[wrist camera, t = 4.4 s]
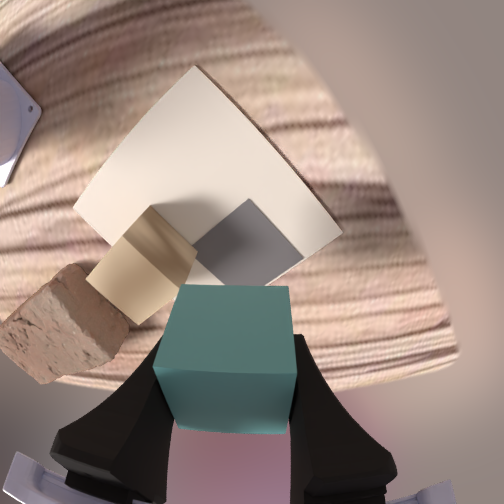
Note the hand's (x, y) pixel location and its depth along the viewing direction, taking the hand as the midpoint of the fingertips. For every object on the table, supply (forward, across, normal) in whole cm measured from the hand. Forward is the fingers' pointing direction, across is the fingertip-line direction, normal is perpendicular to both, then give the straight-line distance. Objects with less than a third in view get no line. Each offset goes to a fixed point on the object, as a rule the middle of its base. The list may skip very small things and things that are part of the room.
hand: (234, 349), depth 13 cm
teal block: (+1, 0, 0) cm, 1 cm away
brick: (+10, +19, +9) cm, 23 cm away
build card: (+9, +3, -2) cm, 10 cm away
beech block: (+9, +6, 0) cm, 11 cm away
